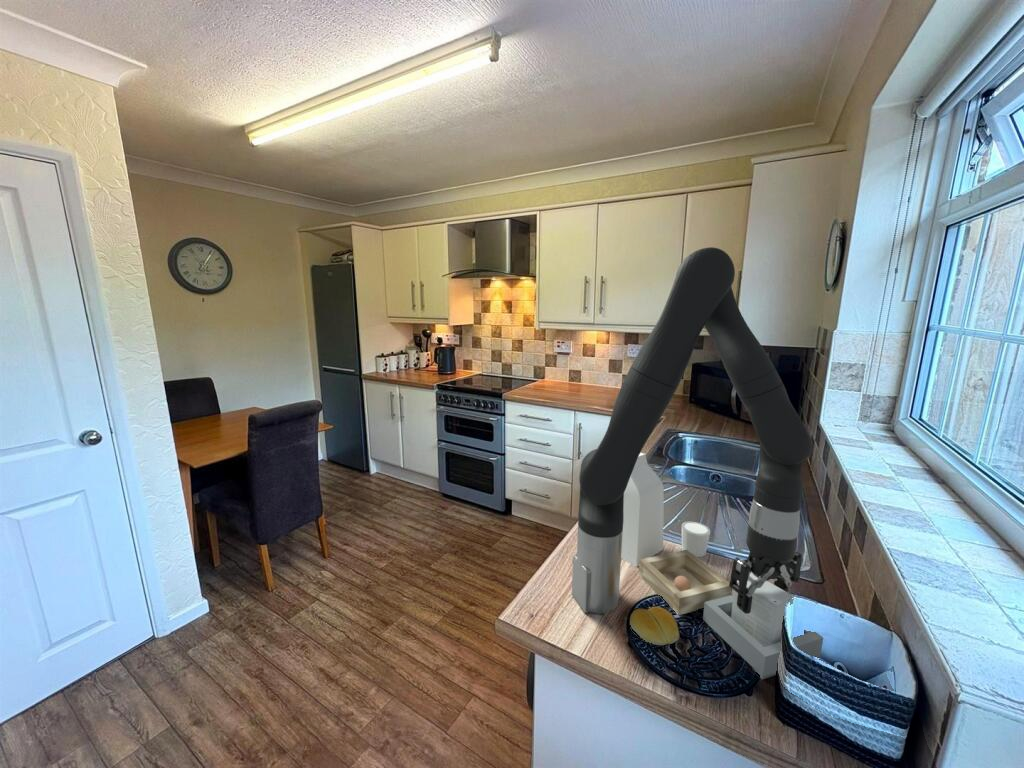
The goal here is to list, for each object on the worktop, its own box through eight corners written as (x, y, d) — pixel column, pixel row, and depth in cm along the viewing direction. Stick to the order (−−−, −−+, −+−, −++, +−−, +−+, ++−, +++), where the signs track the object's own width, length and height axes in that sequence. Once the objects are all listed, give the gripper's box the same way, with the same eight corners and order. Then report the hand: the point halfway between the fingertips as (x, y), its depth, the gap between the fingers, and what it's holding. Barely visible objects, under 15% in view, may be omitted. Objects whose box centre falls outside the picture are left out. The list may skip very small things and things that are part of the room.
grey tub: (762, 679, 68) (765, 656, 68) (702, 621, 81) (704, 602, 80) (819, 659, 72) (823, 637, 72) (754, 607, 85) (756, 588, 84)
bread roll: (623, 618, 82) (624, 601, 82) (663, 614, 83) (665, 597, 83) (641, 651, 74) (642, 632, 73) (686, 646, 75) (688, 627, 75)
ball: (680, 597, 87) (681, 583, 87) (670, 587, 90) (671, 574, 90) (693, 594, 88) (694, 580, 88) (682, 584, 91) (683, 571, 91)
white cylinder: (683, 542, 110) (686, 518, 108) (711, 551, 105) (713, 526, 104) (675, 553, 104) (677, 528, 103) (704, 563, 100) (706, 538, 99)
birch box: (677, 617, 82) (679, 598, 81) (638, 576, 95) (639, 559, 94) (730, 603, 86) (732, 585, 85) (685, 566, 99) (686, 549, 98)
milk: (636, 569, 98) (642, 468, 93) (598, 547, 107) (603, 454, 102) (662, 551, 105) (670, 456, 101) (625, 532, 114) (631, 445, 110)
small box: (788, 646, 74) (795, 596, 73) (770, 658, 72) (777, 606, 70) (746, 618, 81) (752, 571, 80) (728, 627, 79) (734, 579, 77)
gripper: (760, 543, 67) (748, 629, 70) (822, 531, 71) (808, 612, 74) (724, 521, 74) (715, 599, 77) (783, 511, 78) (772, 586, 81)
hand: (761, 605), depth 75 cm, fingers open, 8 cm apart
